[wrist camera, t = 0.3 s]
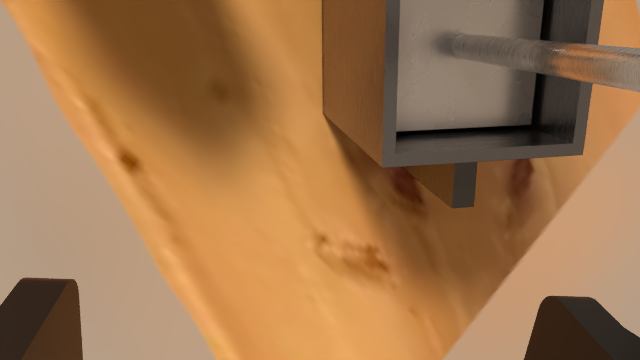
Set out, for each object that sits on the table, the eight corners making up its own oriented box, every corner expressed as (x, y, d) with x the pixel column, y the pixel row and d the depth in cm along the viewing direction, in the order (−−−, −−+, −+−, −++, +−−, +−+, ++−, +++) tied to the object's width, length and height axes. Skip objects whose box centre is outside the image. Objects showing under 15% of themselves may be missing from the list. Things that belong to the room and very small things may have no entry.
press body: (321, -43, 34) (387, -77, 21) (468, -42, 36) (613, -73, 23) (323, 155, 38) (380, 229, 25) (456, 147, 40) (574, 213, 27)
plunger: (380, -43, 26) (971, -236, 6) (539, -42, 27) (1462, -195, 7) (376, 128, 28) (781, 416, 8) (522, 121, 29) (1173, 350, 9)
